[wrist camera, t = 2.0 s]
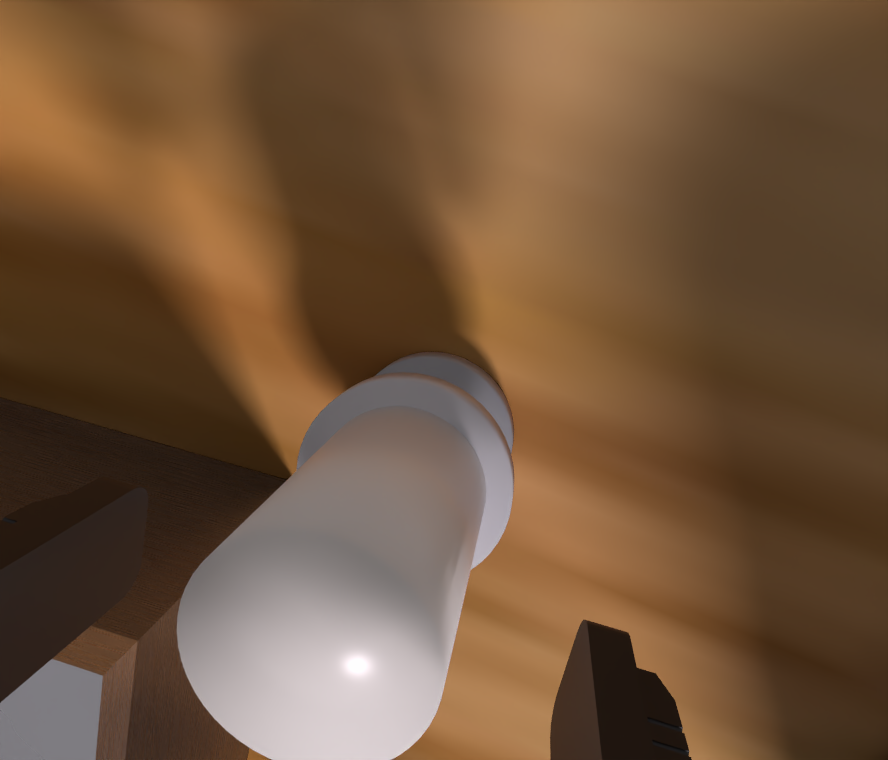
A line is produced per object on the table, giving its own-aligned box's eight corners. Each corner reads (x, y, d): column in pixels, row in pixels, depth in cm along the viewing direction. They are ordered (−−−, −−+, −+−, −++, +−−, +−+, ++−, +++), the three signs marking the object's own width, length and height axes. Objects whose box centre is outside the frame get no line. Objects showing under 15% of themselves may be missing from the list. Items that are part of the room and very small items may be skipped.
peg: (369, 326, 18) (156, 442, 8) (540, 370, 18) (531, 549, 8) (338, 482, 20) (125, 741, 10) (496, 527, 19) (442, 850, 9)
